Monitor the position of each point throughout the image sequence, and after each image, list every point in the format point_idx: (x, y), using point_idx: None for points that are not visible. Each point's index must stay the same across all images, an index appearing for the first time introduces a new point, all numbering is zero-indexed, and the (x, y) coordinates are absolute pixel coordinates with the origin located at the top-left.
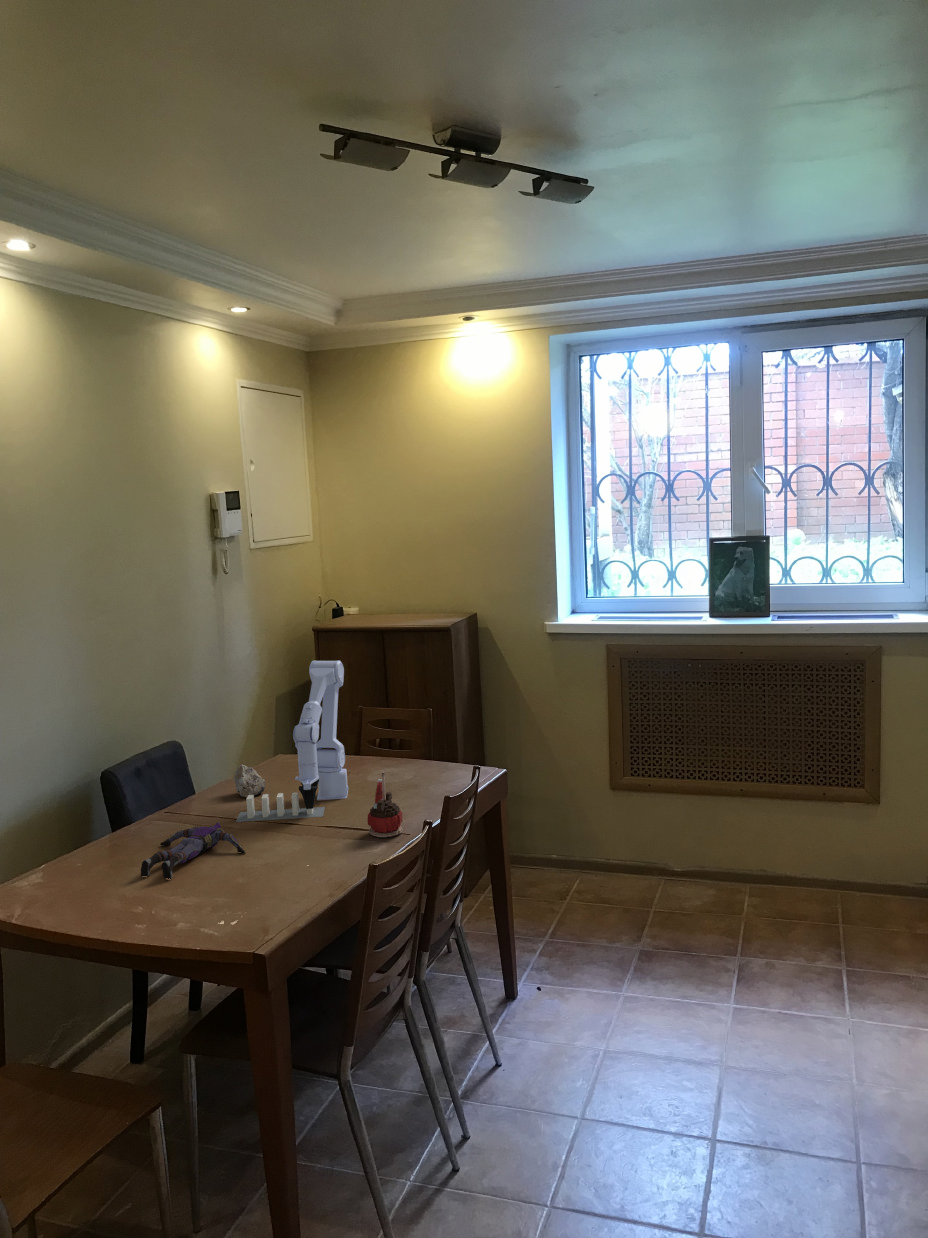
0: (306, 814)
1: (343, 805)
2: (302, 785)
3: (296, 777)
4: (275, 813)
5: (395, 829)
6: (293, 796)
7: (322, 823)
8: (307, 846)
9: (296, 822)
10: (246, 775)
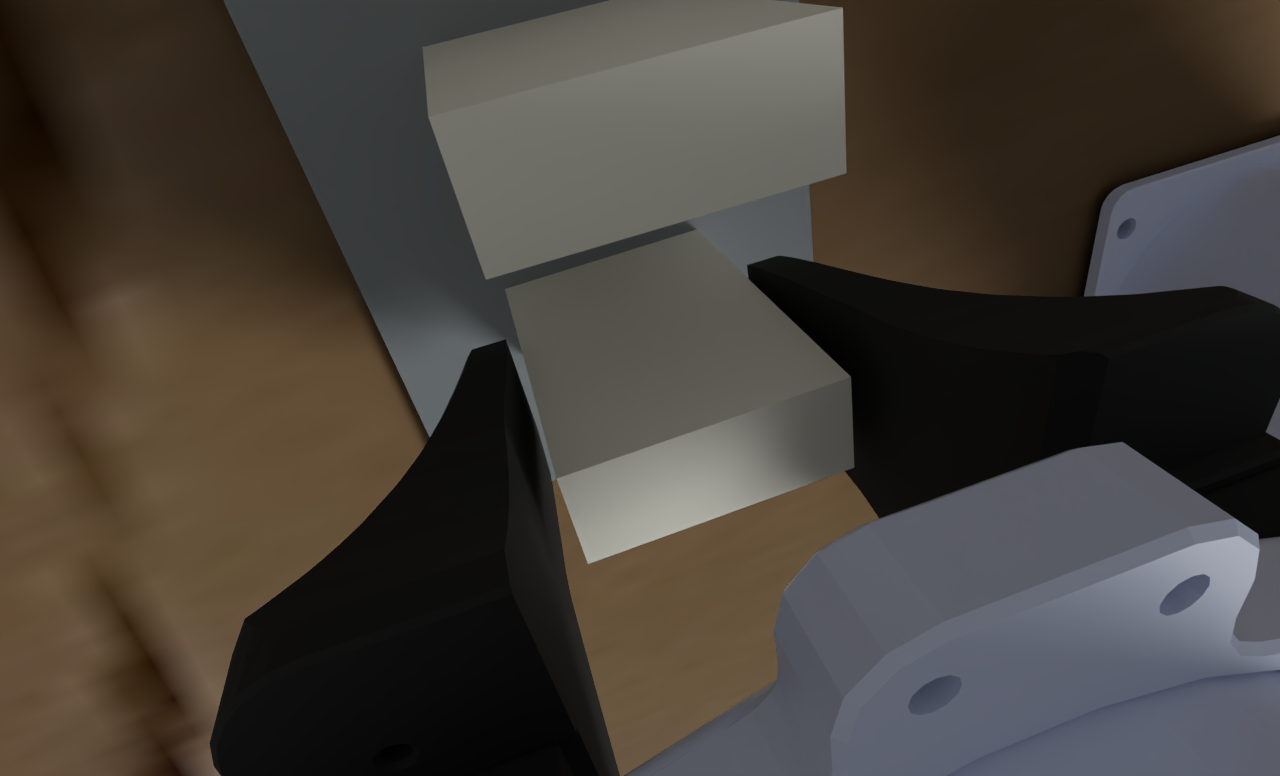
0: (517, 274)
1: (869, 521)
2: (987, 361)
3: (1038, 652)
4: None
5: None
6: (455, 181)
7: (238, 582)
8: None
9: (139, 229)
10: None
